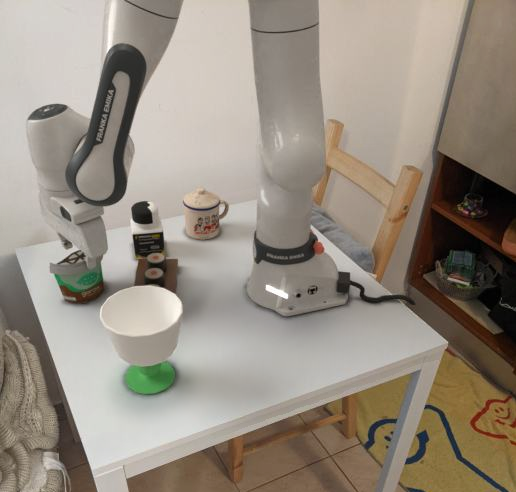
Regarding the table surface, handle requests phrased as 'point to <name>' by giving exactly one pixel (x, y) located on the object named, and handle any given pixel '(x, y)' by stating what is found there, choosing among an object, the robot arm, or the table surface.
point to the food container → (78, 278)
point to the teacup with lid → (203, 213)
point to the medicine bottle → (146, 229)
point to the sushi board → (167, 274)
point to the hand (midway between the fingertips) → (79, 256)
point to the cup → (144, 334)
